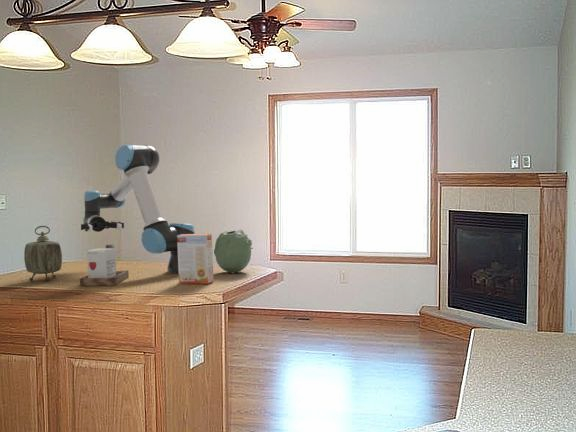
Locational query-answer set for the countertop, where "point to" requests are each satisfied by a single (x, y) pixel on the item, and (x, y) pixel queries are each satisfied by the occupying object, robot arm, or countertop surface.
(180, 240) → the cracker box
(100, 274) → the supplement box
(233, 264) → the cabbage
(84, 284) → the wooden tray
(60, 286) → the countertop surface
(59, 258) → the tabletop clock
